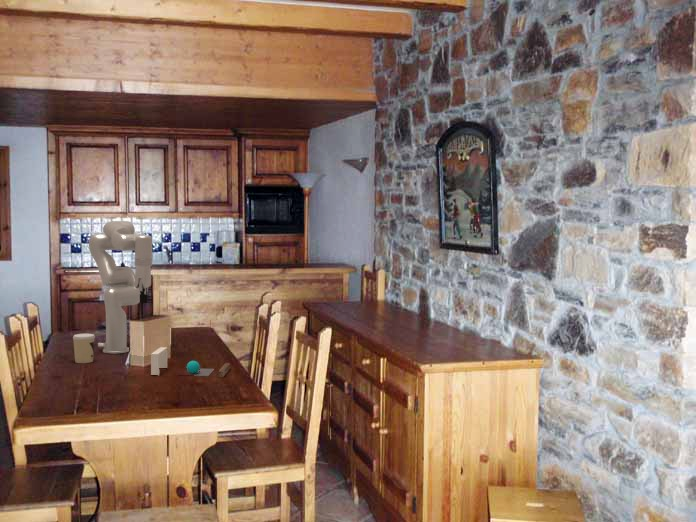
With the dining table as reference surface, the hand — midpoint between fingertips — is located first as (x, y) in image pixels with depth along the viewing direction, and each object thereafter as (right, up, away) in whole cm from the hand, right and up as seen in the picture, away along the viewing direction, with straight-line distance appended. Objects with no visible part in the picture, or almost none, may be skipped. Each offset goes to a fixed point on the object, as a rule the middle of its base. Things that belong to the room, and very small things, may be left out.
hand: (143, 303), depth 330 cm
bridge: (+11, -29, -16) cm, 35 cm away
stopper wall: (+39, -29, -17) cm, 52 cm away
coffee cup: (-27, -27, +2) cm, 38 cm away
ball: (+26, -26, -19) cm, 42 cm away
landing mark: (+27, -29, -16) cm, 43 cm away
